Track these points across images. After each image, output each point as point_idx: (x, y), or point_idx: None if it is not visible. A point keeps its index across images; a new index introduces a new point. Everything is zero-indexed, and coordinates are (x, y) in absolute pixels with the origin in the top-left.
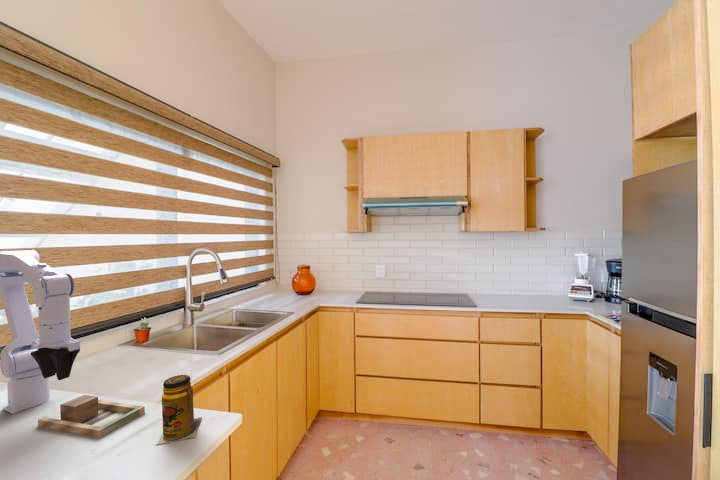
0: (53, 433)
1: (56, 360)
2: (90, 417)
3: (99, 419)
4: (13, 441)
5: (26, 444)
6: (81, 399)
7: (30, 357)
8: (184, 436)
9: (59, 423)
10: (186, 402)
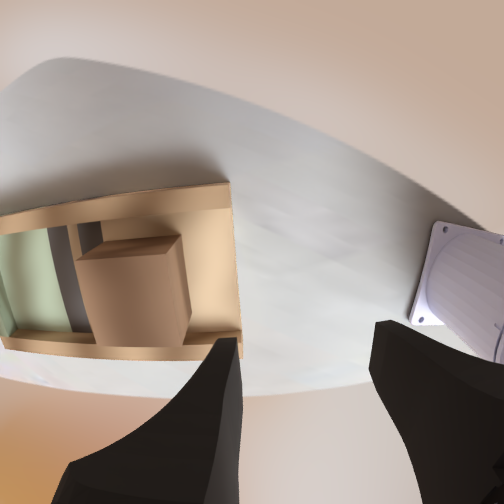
0: None
1: (131, 443)
2: None
3: (67, 285)
4: (229, 112)
5: (155, 120)
6: (130, 314)
7: None
8: None
9: (97, 200)
10: None
